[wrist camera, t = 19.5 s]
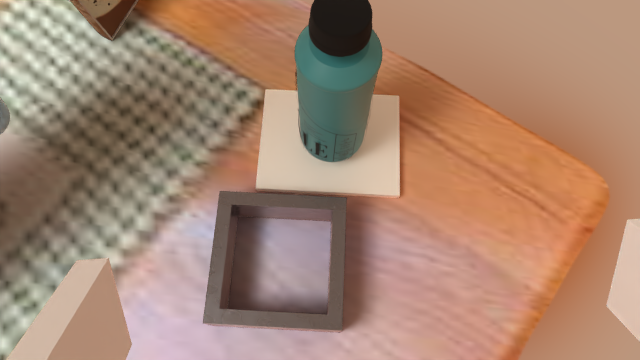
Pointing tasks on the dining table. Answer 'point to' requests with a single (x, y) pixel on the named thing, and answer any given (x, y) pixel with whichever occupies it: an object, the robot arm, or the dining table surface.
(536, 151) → the dining table surface
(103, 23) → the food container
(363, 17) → the beverage bottle
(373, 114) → the coaster pad
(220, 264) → the bottle holder
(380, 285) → the dining table surface
